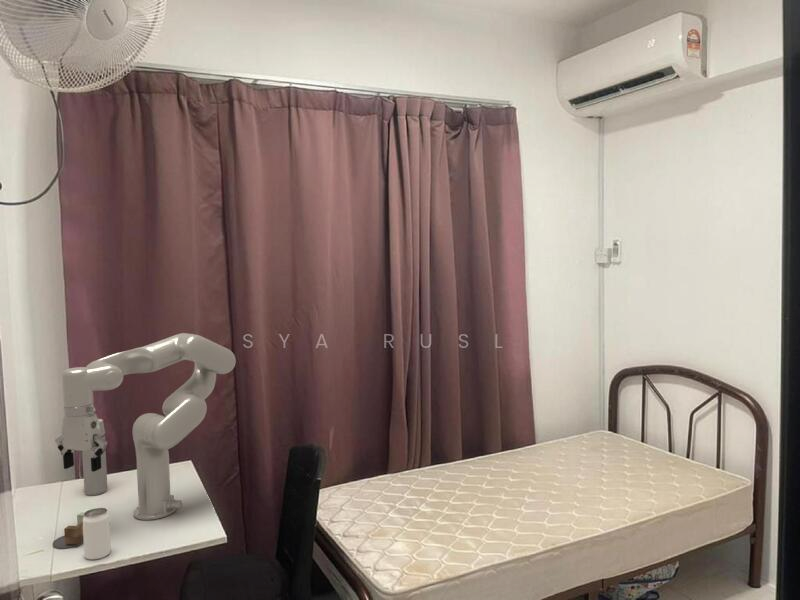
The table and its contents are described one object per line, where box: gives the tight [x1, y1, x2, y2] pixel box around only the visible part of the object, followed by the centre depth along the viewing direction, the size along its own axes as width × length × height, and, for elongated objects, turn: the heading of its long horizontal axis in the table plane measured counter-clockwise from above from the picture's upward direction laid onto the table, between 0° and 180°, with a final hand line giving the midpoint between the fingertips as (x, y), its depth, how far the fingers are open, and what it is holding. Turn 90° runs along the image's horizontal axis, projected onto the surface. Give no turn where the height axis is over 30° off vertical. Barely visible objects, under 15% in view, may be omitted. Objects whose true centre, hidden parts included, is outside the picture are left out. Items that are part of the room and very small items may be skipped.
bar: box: [63, 522, 83, 544], centre depth 175 cm, size 4×11×4 cm, turn 175°
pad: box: [52, 535, 84, 550], centre depth 174 cm, size 9×9×1 cm
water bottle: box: [78, 418, 108, 496], centre depth 210 cm, size 9×8×25 cm
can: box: [83, 507, 112, 561], centre depth 165 cm, size 6×6×12 cm
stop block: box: [76, 511, 86, 526], centre depth 186 cm, size 4×2×3 cm, turn 85°
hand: (82, 468), depth 176 cm, fingers open, 9 cm apart
